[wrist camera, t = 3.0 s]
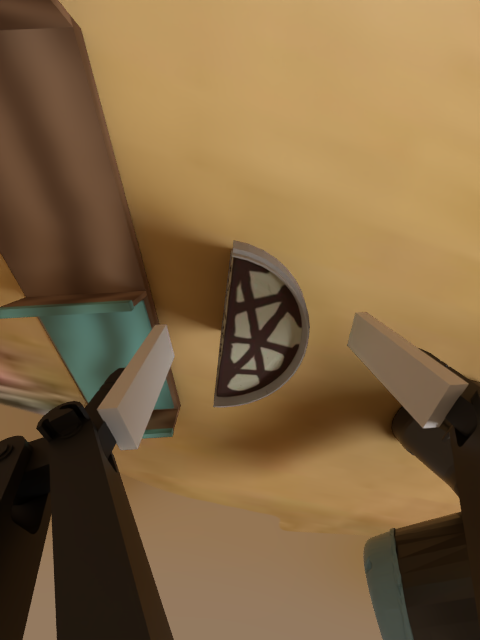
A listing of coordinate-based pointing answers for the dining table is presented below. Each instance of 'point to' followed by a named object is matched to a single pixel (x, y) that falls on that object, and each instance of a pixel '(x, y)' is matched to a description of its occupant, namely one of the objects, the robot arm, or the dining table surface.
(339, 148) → the dining table surface
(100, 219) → the rack
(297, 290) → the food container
